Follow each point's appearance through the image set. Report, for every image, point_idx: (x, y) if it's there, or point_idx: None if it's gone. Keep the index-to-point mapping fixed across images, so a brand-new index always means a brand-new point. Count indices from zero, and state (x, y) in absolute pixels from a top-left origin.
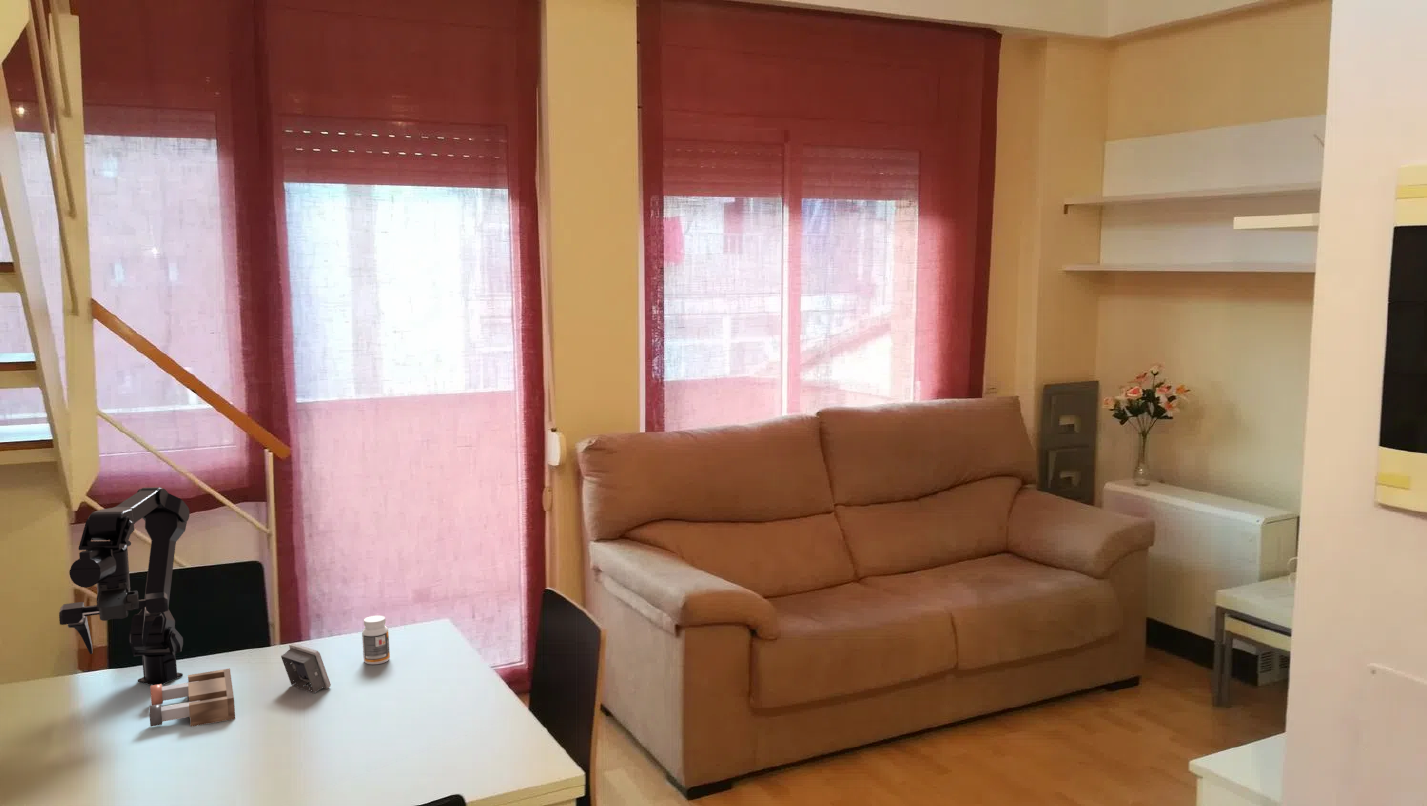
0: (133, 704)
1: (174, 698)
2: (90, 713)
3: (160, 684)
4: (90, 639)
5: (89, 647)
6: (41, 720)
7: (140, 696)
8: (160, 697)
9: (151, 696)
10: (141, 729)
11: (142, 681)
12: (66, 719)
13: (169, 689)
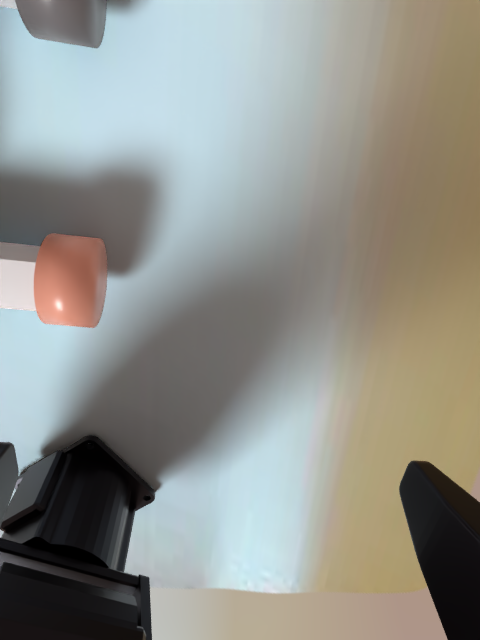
0: (174, 328)
1: (6, 243)
2: (312, 324)
3: (38, 297)
4: (470, 605)
5: (464, 505)
6: (448, 347)
7: (149, 385)
8: (54, 235)
9: (90, 244)
10: (151, 11)
11: (139, 481)
12: (386, 313)
13: (3, 258)
